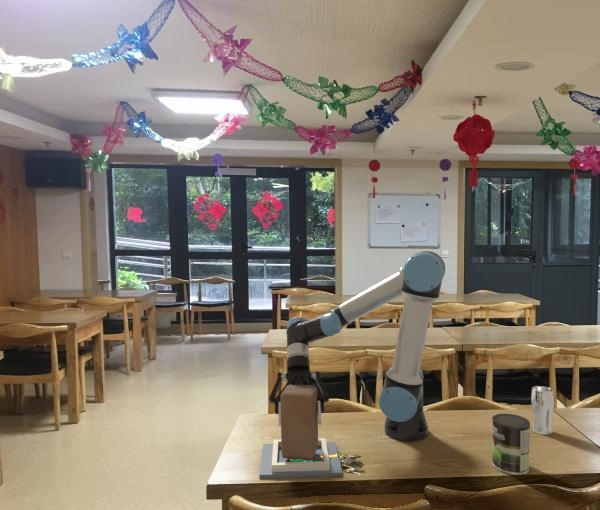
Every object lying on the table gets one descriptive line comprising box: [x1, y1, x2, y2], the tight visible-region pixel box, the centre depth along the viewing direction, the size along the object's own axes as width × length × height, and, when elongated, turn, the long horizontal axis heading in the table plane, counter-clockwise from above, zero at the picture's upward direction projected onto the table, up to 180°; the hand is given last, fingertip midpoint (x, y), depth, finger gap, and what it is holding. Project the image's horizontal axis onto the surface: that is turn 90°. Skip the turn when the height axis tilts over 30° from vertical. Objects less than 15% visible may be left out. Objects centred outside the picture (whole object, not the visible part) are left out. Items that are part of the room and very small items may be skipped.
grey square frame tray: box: [259, 437, 343, 479], centre depth 144 cm, size 24×20×3 cm
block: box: [280, 385, 319, 460], centre depth 143 cm, size 10×10×20 cm
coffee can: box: [491, 413, 531, 476], centre depth 138 cm, size 10×10×14 cm
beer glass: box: [530, 385, 555, 436], centre depth 162 cm, size 7×7×15 cm
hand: (299, 423), depth 140 cm, fingers closed on block, 11 cm apart
